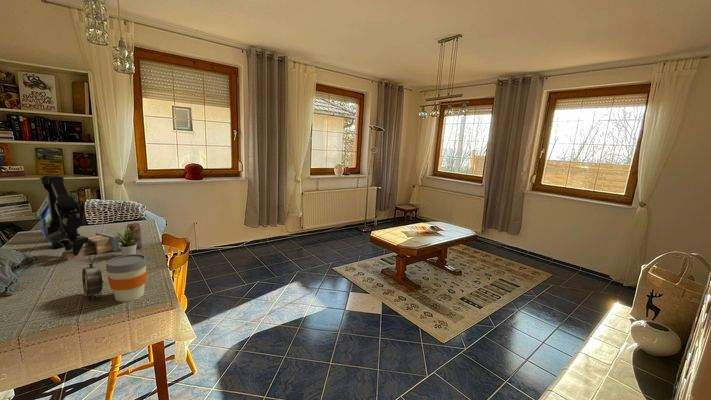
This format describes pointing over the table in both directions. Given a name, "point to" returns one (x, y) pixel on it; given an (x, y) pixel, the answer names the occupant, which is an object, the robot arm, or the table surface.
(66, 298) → the table surface
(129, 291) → the reusable coffee cup
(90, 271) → the alarm clock
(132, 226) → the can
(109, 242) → the block
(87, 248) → the peg
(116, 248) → the backstop
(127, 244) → the house plant
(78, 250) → the robot arm
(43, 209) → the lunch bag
